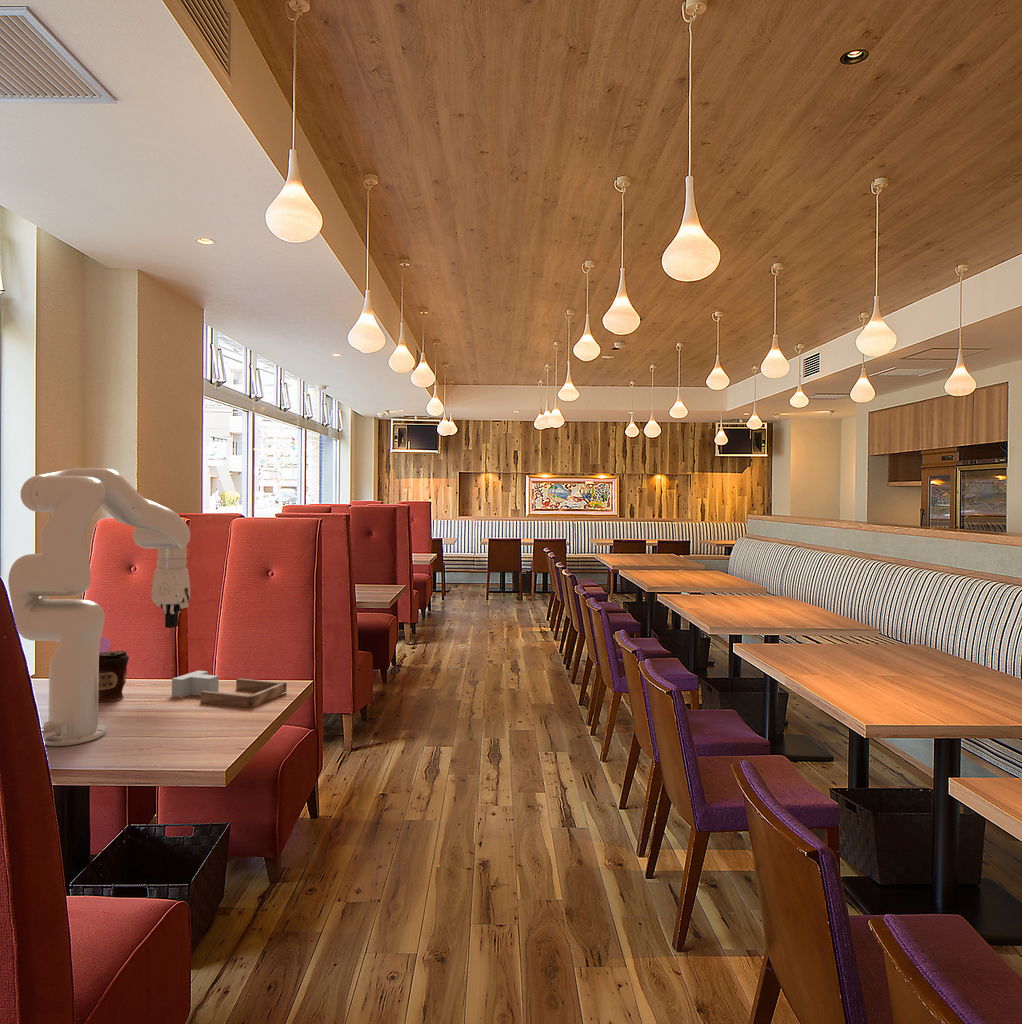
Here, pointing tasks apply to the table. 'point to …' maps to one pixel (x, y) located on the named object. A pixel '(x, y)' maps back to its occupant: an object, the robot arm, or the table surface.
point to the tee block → (194, 684)
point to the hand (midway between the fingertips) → (171, 626)
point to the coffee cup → (112, 675)
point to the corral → (264, 689)
